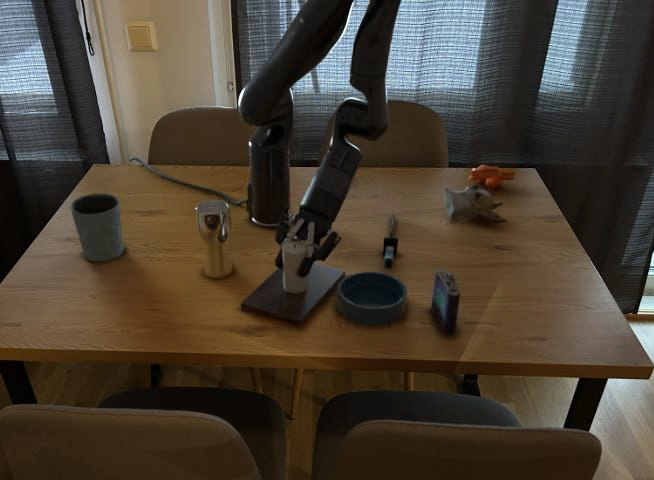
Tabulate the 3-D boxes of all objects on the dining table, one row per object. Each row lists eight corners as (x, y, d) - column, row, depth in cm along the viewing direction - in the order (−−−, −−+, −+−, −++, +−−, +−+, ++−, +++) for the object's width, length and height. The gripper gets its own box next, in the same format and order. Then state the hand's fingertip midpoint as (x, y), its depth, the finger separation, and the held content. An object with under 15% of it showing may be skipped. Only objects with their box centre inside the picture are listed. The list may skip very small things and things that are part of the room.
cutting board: (240, 309, 124) (240, 303, 123) (290, 262, 139) (290, 256, 138) (300, 327, 119) (300, 321, 118) (345, 277, 134) (345, 271, 133)
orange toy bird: (514, 161, 171) (468, 160, 171) (519, 180, 166) (472, 179, 166) (509, 175, 175) (465, 175, 175) (514, 194, 170) (468, 194, 170)
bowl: (325, 315, 123) (326, 297, 120) (353, 282, 132) (354, 265, 130) (390, 334, 117) (392, 316, 115) (414, 298, 127) (416, 281, 125)
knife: (390, 279, 130) (393, 259, 128) (376, 278, 131) (377, 258, 129) (403, 226, 157) (405, 209, 155) (391, 225, 157) (392, 207, 155)
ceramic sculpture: (445, 173, 156) (508, 180, 155) (439, 205, 161) (499, 212, 160) (446, 191, 148) (512, 199, 146) (439, 225, 153) (503, 232, 151)
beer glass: (239, 265, 138) (235, 201, 130) (226, 281, 133) (220, 216, 124) (210, 260, 140) (204, 197, 131) (196, 276, 134) (188, 211, 126)
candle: (279, 289, 127) (277, 247, 122) (290, 278, 131) (289, 236, 125) (300, 295, 125) (299, 252, 120) (311, 283, 129) (311, 241, 124)
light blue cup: (98, 238, 148) (88, 190, 142) (136, 245, 146) (128, 196, 139) (71, 259, 141) (60, 209, 134) (111, 267, 138) (101, 216, 131)
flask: (428, 308, 124) (434, 261, 118) (443, 307, 124) (450, 259, 118) (443, 337, 117) (451, 288, 110) (459, 336, 117) (467, 286, 111)
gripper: (289, 176, 126) (251, 254, 125) (349, 194, 119) (310, 277, 118) (305, 192, 132) (270, 267, 131) (363, 210, 125) (327, 289, 124)
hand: (289, 271), depth 124 cm, fingers closed on candle, 4 cm apart
